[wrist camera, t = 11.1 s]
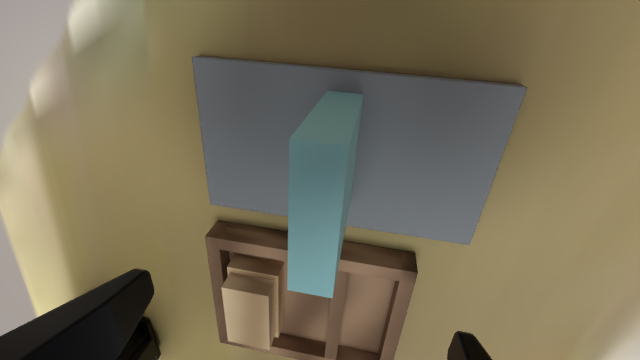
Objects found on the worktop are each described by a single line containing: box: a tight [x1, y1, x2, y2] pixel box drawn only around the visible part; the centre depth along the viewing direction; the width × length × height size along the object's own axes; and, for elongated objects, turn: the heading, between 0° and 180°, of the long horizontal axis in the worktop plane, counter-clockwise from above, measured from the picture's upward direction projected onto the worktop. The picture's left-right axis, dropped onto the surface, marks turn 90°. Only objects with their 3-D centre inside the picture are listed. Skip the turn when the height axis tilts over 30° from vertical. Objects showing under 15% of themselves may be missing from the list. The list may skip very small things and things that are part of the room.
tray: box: [205, 221, 418, 360], centre depth 25 cm, size 15×12×2 cm
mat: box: [192, 56, 527, 245], centre depth 19 cm, size 18×10×1 cm, turn 87°
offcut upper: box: [221, 272, 276, 350], centre depth 24 cm, size 4×6×2 cm, turn 176°
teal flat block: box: [287, 91, 363, 298], centre depth 15 cm, size 2×7×8 cm, turn 177°
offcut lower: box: [227, 254, 284, 338], centre depth 25 cm, size 4×7×2 cm, turn 177°
